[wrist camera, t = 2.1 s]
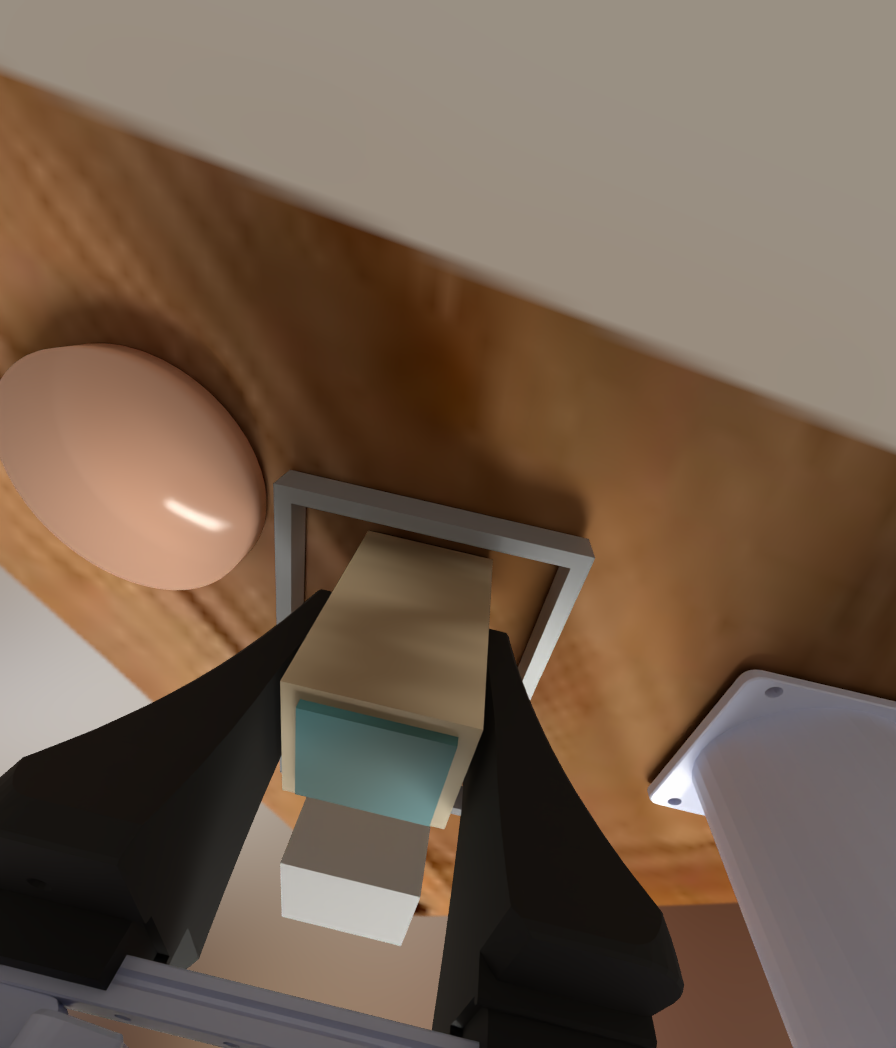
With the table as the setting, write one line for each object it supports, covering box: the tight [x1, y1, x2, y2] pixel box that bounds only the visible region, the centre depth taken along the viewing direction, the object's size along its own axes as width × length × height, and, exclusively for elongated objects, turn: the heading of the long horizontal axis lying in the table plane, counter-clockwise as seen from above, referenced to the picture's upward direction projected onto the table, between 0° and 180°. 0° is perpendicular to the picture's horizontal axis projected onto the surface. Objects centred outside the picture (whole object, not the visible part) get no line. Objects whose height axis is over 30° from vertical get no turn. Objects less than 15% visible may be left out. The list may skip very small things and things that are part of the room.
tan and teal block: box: [280, 531, 493, 829], centre depth 11 cm, size 4×4×6 cm
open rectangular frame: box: [273, 470, 595, 816], centre depth 15 cm, size 9×14×1 cm, turn 169°
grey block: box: [280, 797, 430, 946], centre depth 15 cm, size 4×4×6 cm
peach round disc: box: [0, 343, 267, 590], centre depth 12 cm, size 8×8×1 cm
